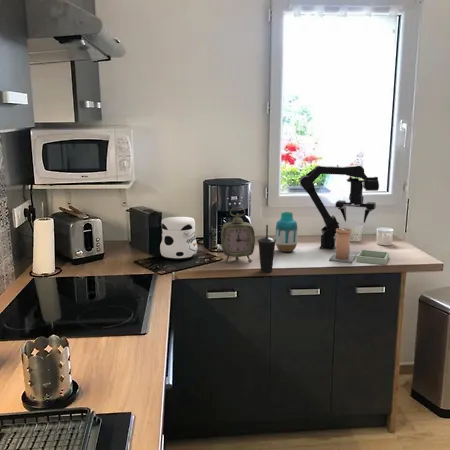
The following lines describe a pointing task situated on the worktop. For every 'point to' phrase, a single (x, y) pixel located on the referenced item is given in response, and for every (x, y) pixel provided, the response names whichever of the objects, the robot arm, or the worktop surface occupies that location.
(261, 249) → the drinking cup
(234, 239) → the tabletop clock
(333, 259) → the slate tile
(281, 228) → the vase
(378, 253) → the green tray
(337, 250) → the terracotta pot
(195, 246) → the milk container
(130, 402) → the worktop surface
